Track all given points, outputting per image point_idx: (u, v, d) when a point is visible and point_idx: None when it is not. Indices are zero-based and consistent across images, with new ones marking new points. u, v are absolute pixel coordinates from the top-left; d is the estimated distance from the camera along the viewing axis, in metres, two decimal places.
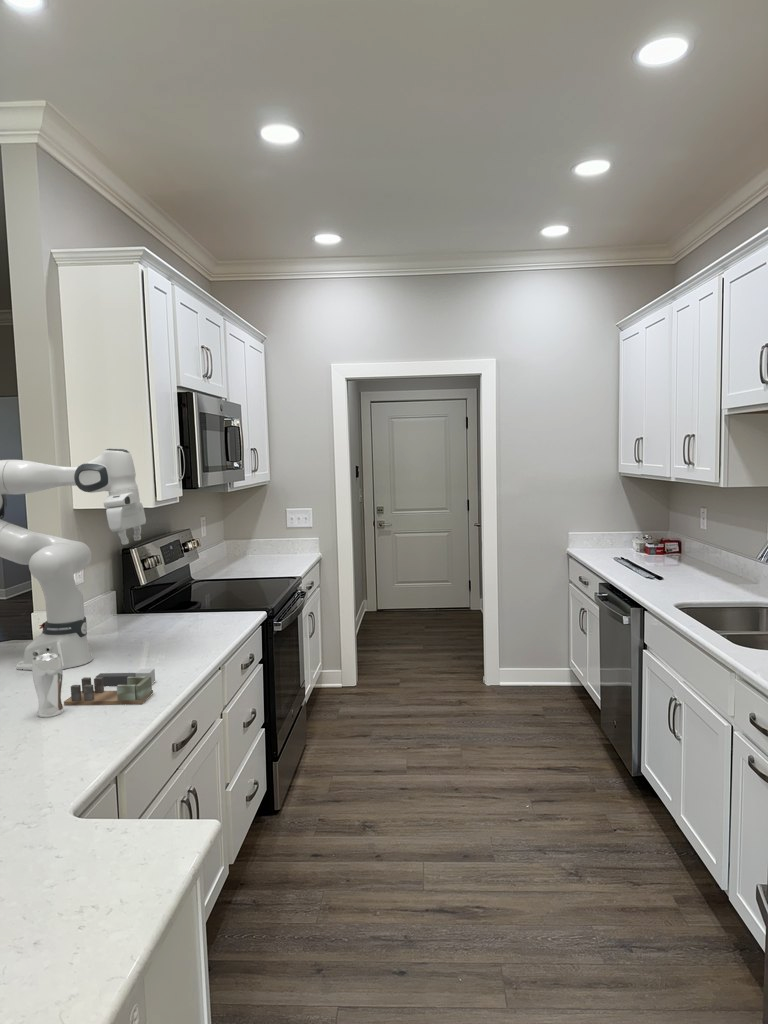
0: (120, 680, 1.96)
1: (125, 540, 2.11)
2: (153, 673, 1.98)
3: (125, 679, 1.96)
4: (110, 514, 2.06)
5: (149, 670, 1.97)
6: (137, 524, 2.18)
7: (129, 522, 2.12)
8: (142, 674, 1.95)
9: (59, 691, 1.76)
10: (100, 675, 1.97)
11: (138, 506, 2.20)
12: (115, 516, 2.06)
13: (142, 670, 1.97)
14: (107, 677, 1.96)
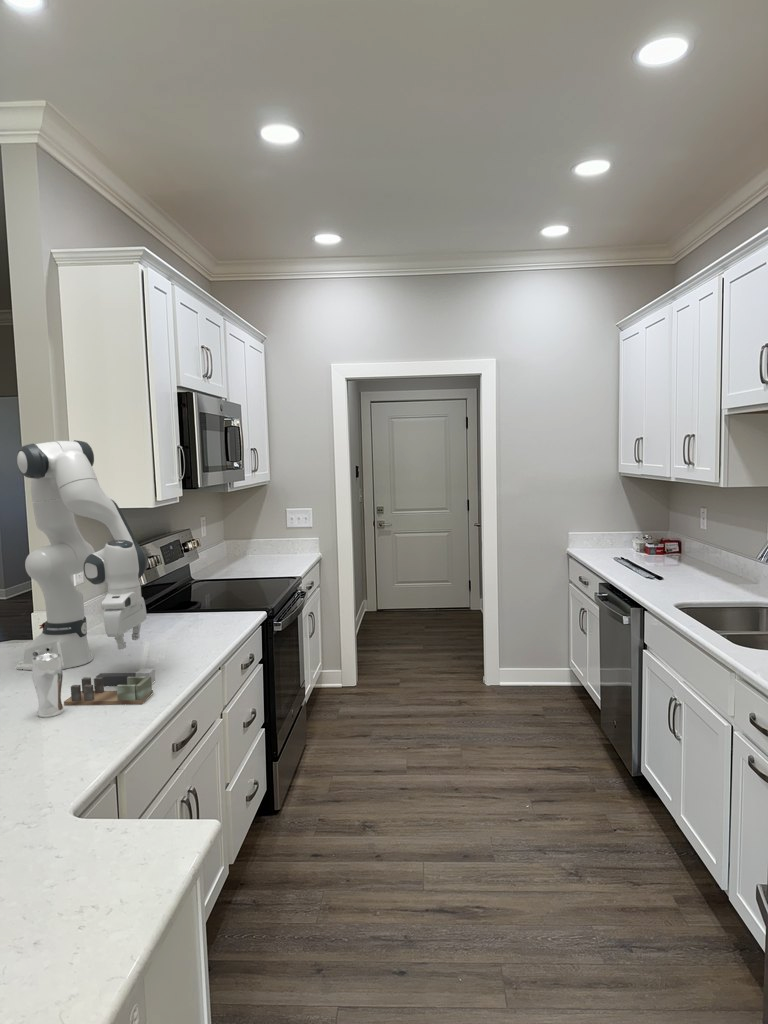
0: (120, 680, 1.96)
1: (122, 645, 1.90)
2: (153, 673, 1.98)
3: (125, 679, 1.96)
4: (108, 618, 1.86)
5: (149, 670, 1.97)
6: (137, 623, 1.98)
7: (128, 624, 1.92)
8: (142, 674, 1.95)
9: (59, 691, 1.76)
10: (100, 675, 1.97)
11: (139, 602, 2.00)
12: (113, 621, 1.86)
13: (142, 670, 1.97)
14: (107, 677, 1.96)
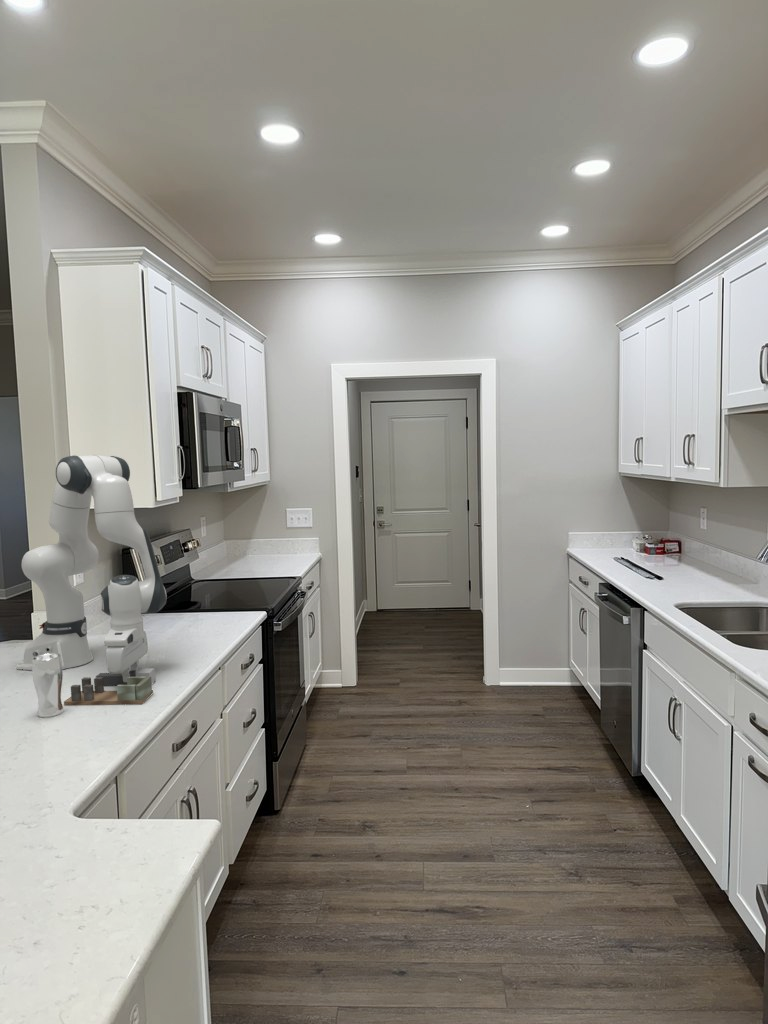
0: (120, 680, 1.96)
1: None
2: (153, 673, 1.98)
3: None
4: (110, 655, 1.87)
5: (149, 670, 1.97)
6: (138, 658, 1.99)
7: (130, 660, 1.93)
8: (142, 674, 1.95)
9: (59, 691, 1.76)
10: (100, 675, 1.97)
11: None
12: (116, 658, 1.87)
13: (142, 670, 1.97)
14: (107, 677, 1.96)
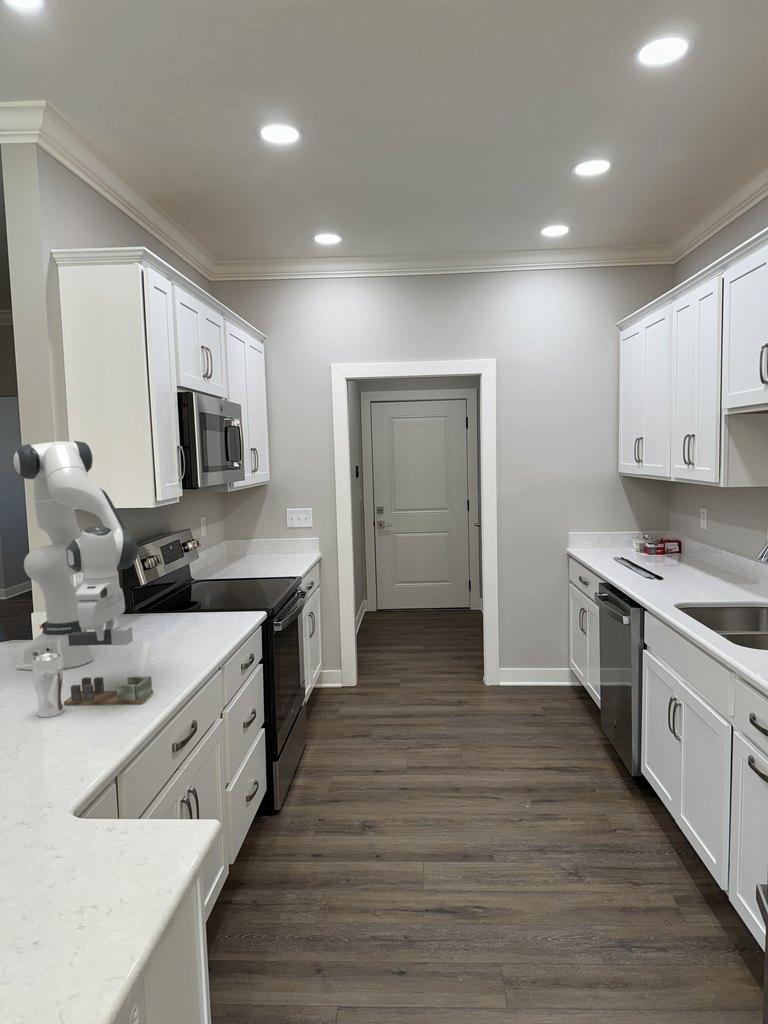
0: (94, 638, 1.83)
1: (101, 636, 1.81)
2: (130, 631, 1.85)
3: None
4: (82, 609, 1.74)
5: (126, 628, 1.84)
6: (114, 616, 1.86)
7: (104, 617, 1.80)
8: (118, 632, 1.82)
9: (59, 691, 1.76)
10: (73, 633, 1.84)
11: (117, 594, 1.88)
12: (88, 613, 1.73)
13: (118, 628, 1.84)
14: (81, 635, 1.83)
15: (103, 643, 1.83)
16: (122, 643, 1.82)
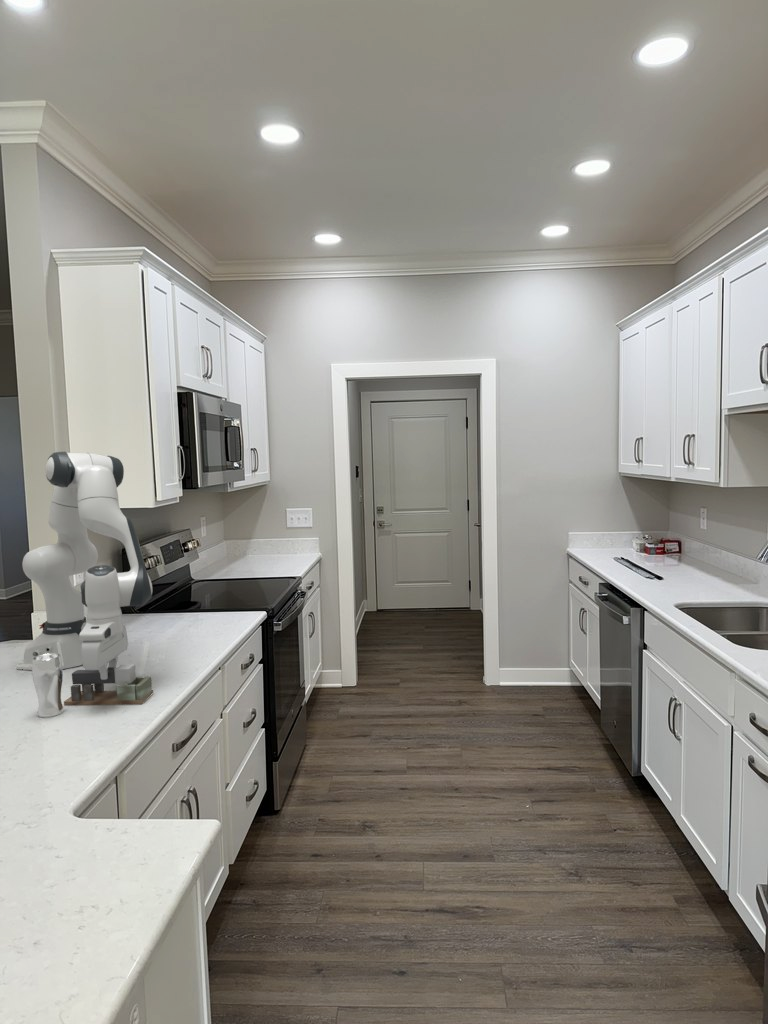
0: (98, 677, 1.84)
1: (105, 675, 1.82)
2: (133, 669, 1.86)
3: None
4: (86, 650, 1.75)
5: (129, 666, 1.85)
6: (117, 654, 1.87)
7: (108, 656, 1.81)
8: (121, 670, 1.83)
9: (59, 691, 1.76)
10: (77, 672, 1.85)
11: (120, 631, 1.89)
12: (92, 653, 1.74)
13: (121, 666, 1.85)
14: (84, 674, 1.84)
15: (106, 682, 1.84)
16: (125, 682, 1.83)
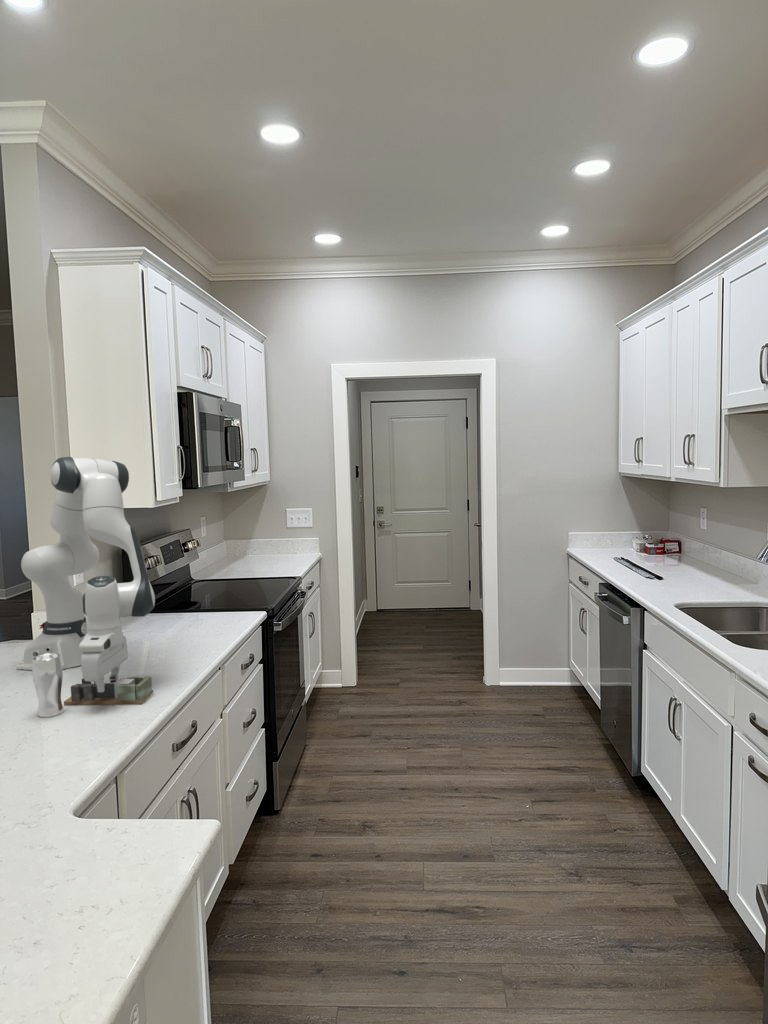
0: None
1: (102, 688, 1.81)
2: (133, 684, 1.86)
3: None
4: (85, 661, 1.75)
5: (129, 680, 1.85)
6: (117, 665, 1.87)
7: (107, 667, 1.81)
8: None
9: (59, 691, 1.76)
10: None
11: (120, 642, 1.89)
12: (91, 665, 1.75)
13: (121, 680, 1.85)
14: None
15: (106, 696, 1.84)
16: None
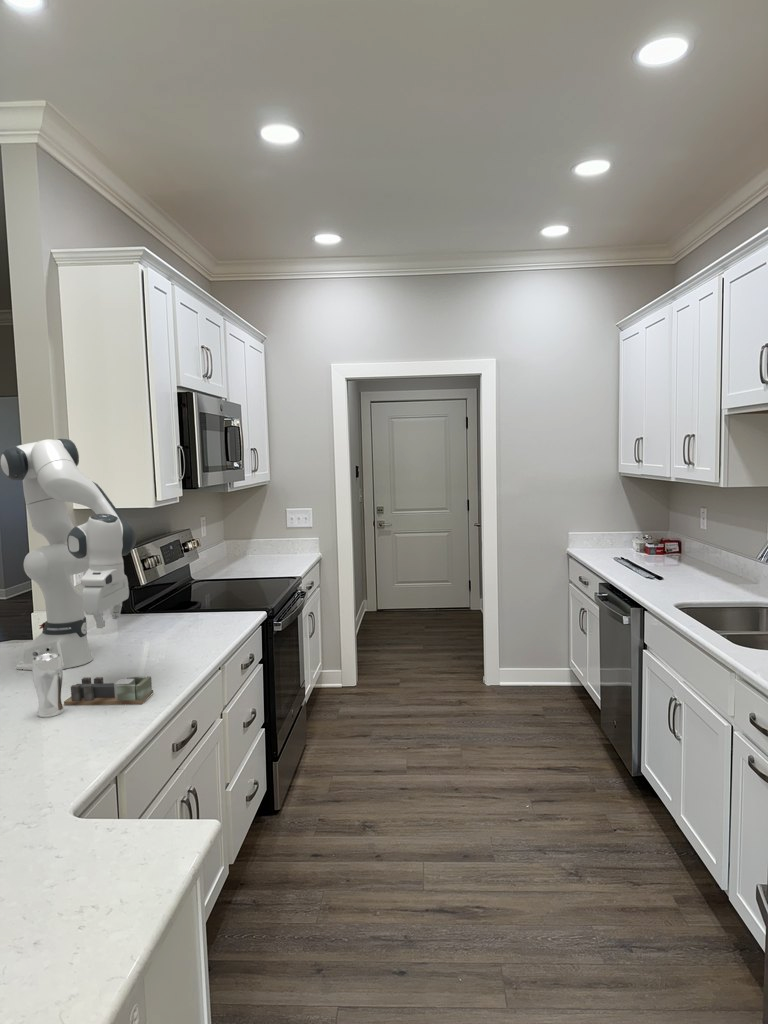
0: (98, 691, 1.84)
1: (101, 623, 1.82)
2: (133, 684, 1.86)
3: (103, 690, 1.84)
4: (87, 595, 1.77)
5: (129, 680, 1.85)
6: (118, 602, 1.89)
7: (108, 603, 1.83)
8: None
9: (59, 691, 1.76)
10: None
11: (121, 580, 1.92)
12: (93, 598, 1.77)
13: (121, 680, 1.85)
14: None
15: (106, 696, 1.84)
16: None
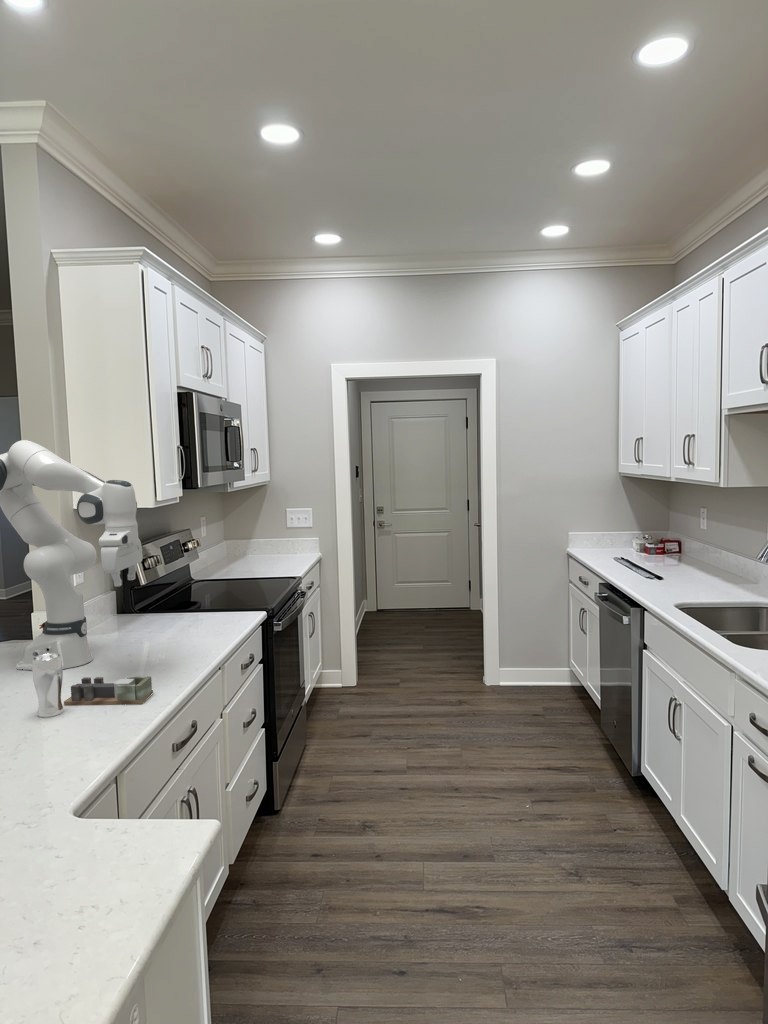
0: (98, 691, 1.84)
1: (118, 582, 1.93)
2: (133, 684, 1.86)
3: (103, 690, 1.84)
4: (105, 554, 1.88)
5: (129, 680, 1.85)
6: (133, 563, 2.01)
7: (124, 562, 1.95)
8: None
9: (59, 691, 1.76)
10: None
11: (136, 543, 2.03)
12: (110, 557, 1.88)
13: (121, 680, 1.85)
14: None
15: (106, 696, 1.84)
16: None
